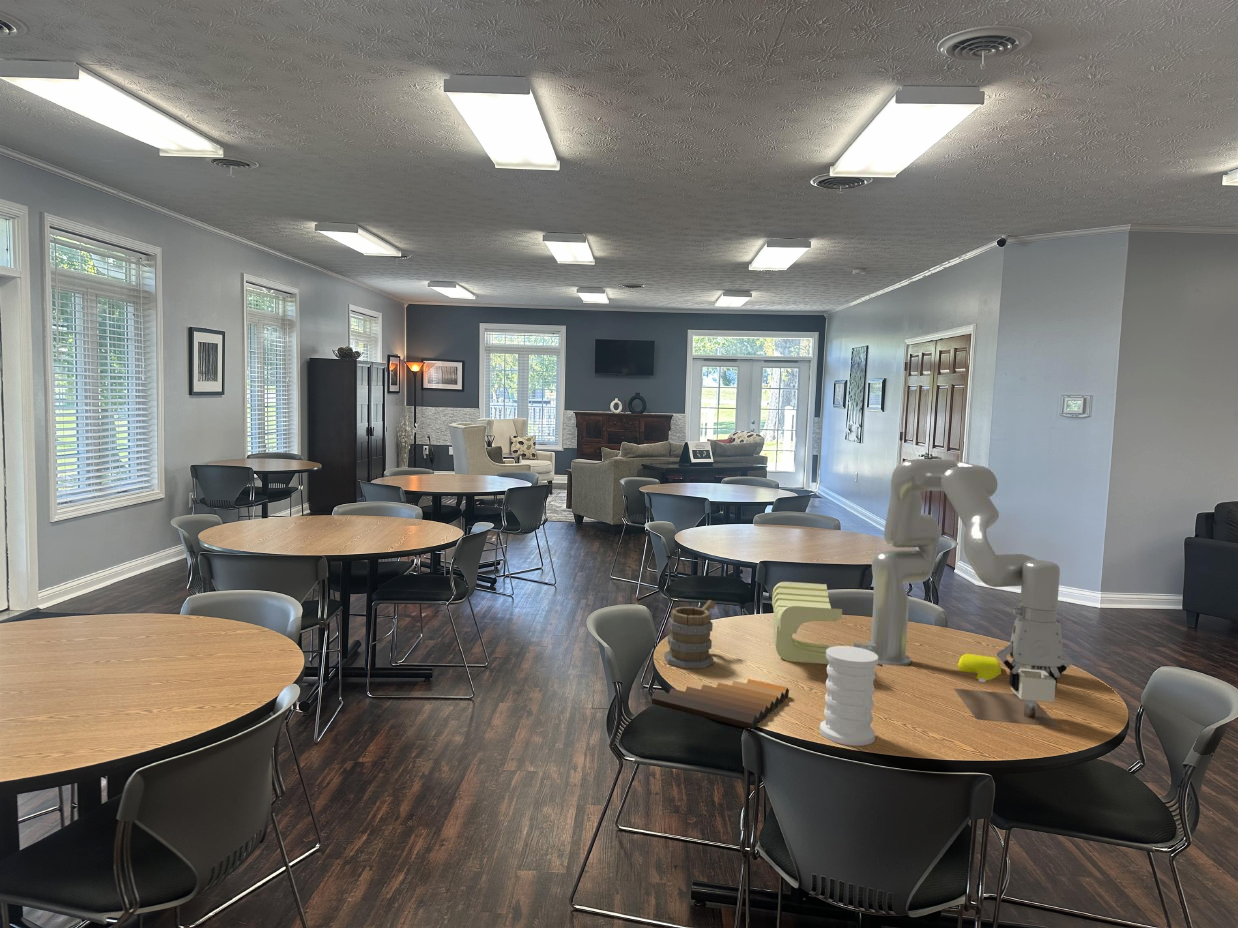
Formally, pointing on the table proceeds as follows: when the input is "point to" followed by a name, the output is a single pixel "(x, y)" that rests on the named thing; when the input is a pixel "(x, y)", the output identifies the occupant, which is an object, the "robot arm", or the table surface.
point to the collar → (1035, 686)
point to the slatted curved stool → (800, 619)
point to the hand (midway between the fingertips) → (1032, 689)
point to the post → (1030, 708)
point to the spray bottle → (980, 666)
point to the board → (1002, 708)
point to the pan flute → (726, 701)
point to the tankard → (690, 637)
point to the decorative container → (849, 696)
